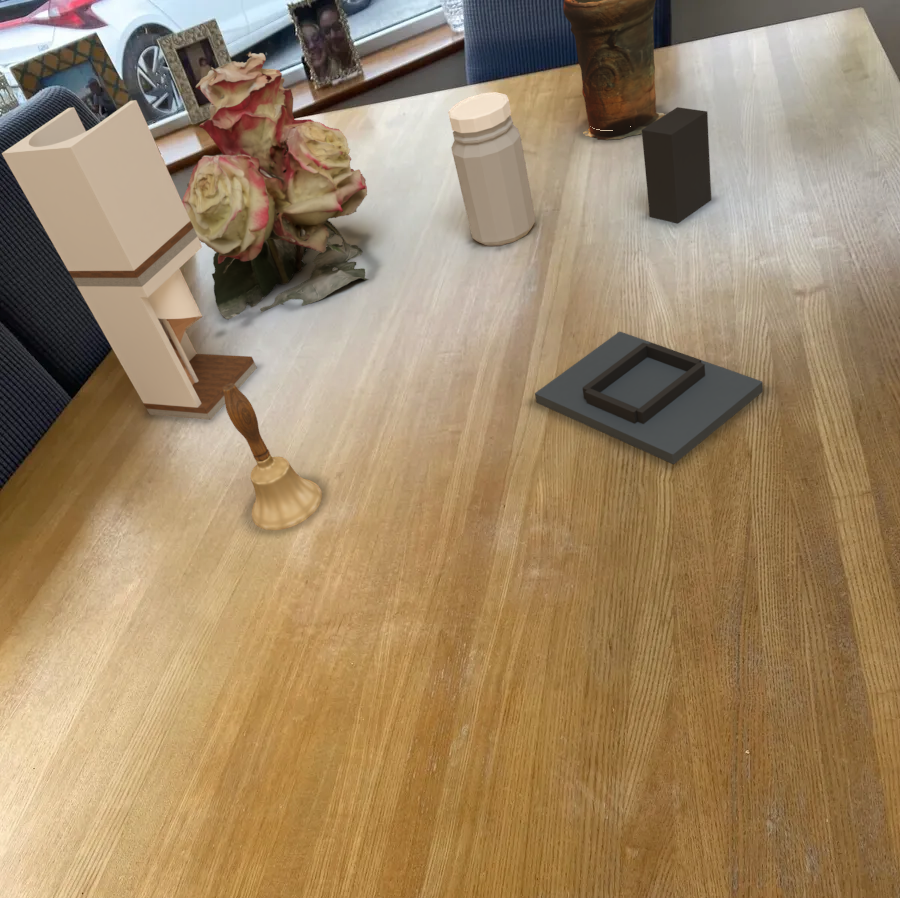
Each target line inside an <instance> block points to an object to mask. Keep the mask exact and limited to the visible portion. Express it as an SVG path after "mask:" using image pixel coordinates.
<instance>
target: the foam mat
mask: <svg viewBox="0 0 900 898" xmlns="http://www.w3.org/2000/svg"><path fill="white" fill-rule="evenodd" d="M763 382H764V381H763V380H759V379H756V378H754V377H750V376H749V375H745V374H742V373H739V372H736V371H734V370H731V369H728V368H724V367H723V366H720V365H717V364H714V363H711V362H708V361H706V360H702V359H700V358H697V357H694V356H691V355H688V354H685V353H684V352H683V353H682V352H680V351H678V350H675V349H671V348H669V347H666V346H662V345H660V344H657V343H654V342H651V341H649V340H646V339H642V338H640V337H637V336H634V335H631V334H629V333H626V332H623V331H618V332H617V333H615V334H614V335H612V336H611V337H610V338H609V339H607V340H605V341H604V342H603V343H601V344H600V345H599V346H597V347H596V348H594V349H593V350H592V351H590V352H589V353H588V354H586V355H585V356H584V357H582V358H581V359H580V360H579V361H577V362H576V363H574V364H573V365H572V366H570V367H569V368H567V369H566V370H564V371H563V372H562V373H561V374H559V375H558V376H556V377H555V378H554V379H552V380H551V381H550V382H548V383H547V384H546V385H544V386H543V387H541V388H540V389H538V390H537V391H536V392H534V397H535V401H536V402H535V403H537V404H539V405H541V406H544V407H545V408H548V409H549V410H552V411H555V412H556V413H558V414H561V415H564V416H565V417H566V418H569V419H571V420H574V421H576V422H578V423H581V424H583V425H585V426H587V427H589V428H592V429H594V430H596V431H597V432H601V433H603V434H604V435H607V436H609V437H611V438H614V439H616V440H618V441H621V442H622V443H625V444H627V445H630V446H631V447H634V448H636V449H638V450H641V451H642V452H645V453H647V454H650V455H651V456H654V457H656V458H658V459H660V460H663V461H665V462H667V463H669V464H671V465H675V464H676V463H678V462H679V461H680V460H681V459H683V458H684V457H685V456H686V455H687V454H689V453H690V452H691V451H692V450H694V449H695V448H696V447H697V446H698V445H700V444H701V443H702V442H703V441H704V440H706V439H707V438H708V437H710V436H711V435H712V434H713V433H714V432H716V431H717V430H718V429H719V428H720V427H722V426H723V425H724V424H725V423H727V422H728V421H729V420H730V419H732V418H733V417H734V416H735V415H737V414H738V413H739V412H740V411H741V410H743V409H744V408H745V407H746V406H747V405H748V404H750V403H751V402H752V401H753V400H755V399H756V398H757V397H758V396H759V395H761V394H762V393H763V391H764V389H763V387H764V386H763V385H764V383H763Z"/></svg>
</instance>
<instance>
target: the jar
mask: <svg viewBox="0 0 900 898" xmlns="http://www.w3.org/2000/svg"><path fill="white" fill-rule="evenodd" d="M447 114H448V118H449V122H450V127H451V130H452V131H453V132H452V136H453V139H454V140H453V142H452V145H451V153H452V157H453V161H454V166H455V171H456V174H457V179H458V181H459V187H460V191H461V195H462V199H463V204H464V208H465V213H466V217H467V222H468V225H469V230H470V235H471V239H473V240H475V241H476V242H477V243H480V244H482V245H484V246H487V247H493V246H494V247H495V246H496V247H497V246H503V245H508V244H511V243H514V242H517V241H518V240H520V239H522V238H524V237H525V236H527V235H528V234H529V233H530V231H531V229H532V228H533V227H534V225H535V223H536V221H537V220H536V219H537V218H536V214H535V207H534V203H533V197H532V192H531V187H530V186H531V185H530V181H529V174H528V170H527V169H528V168H527V165H526V164H527V163H526V159H525V153H524V148H523V143H522V137H521V133H520V131H519V128H518V127H517V126H516V125H515V124H514V121H513V118H512V110H511V104H510V99H509V97H508V95H507V94H505V93H501V92H497V91H494V92H492V91H491V92H482V93H479V94H475V95H472V96H469V97H466V98H464V99H462V100H460V101H458V102H456V103H455V104H454V105H453V106H452V107H451V108H450V109H449V110H448V111H447Z"/></svg>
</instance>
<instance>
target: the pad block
mask: <svg viewBox="0 0 900 898" xmlns="http://www.w3.org/2000/svg"><path fill="white" fill-rule="evenodd" d="M708 116H709V115H708V110H700V109H693V108H685V107H678V106H677V107H675V108H674V109H672V110H670V111H669V112H668V113H666V114H665V115H664V116H663V117H661V118H660V119H658V120H656V121H655V122H653V123H652V124H650V125H649V126H647V127H645V128H644V129H642V134H641V137H642V139H641V140H642V149H643V159H644V161H643V162H644V171H645V172H644V173H645V181H646V191H647V204H648V215H649V218H652V219H656V220H660V221H664V222H669V223H673V224H680V223H681V222H683V221H684V220H685V219H686V218H688V217H690V216H691V215H692V214H694V213H695V212H697V211H699V210H700V209H701V208H703V207H704V206H705V205H707V204H709V203H710V202H711V201H712V185H711V166H710V165H711V160H710V159H711V158H710V139H709V137H710V136H709V117H708Z"/></svg>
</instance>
